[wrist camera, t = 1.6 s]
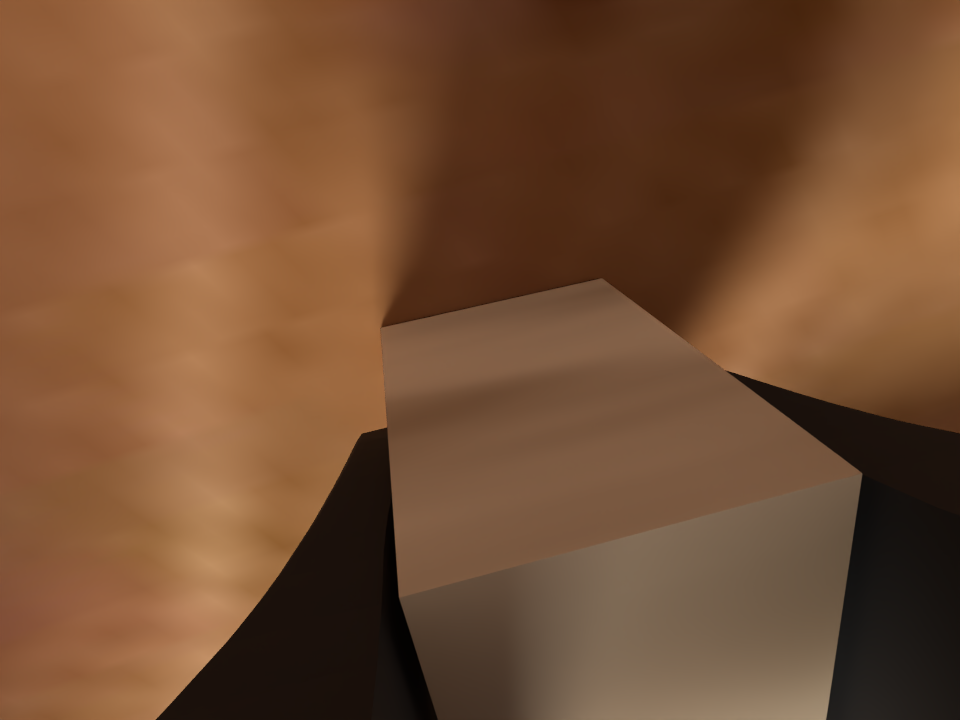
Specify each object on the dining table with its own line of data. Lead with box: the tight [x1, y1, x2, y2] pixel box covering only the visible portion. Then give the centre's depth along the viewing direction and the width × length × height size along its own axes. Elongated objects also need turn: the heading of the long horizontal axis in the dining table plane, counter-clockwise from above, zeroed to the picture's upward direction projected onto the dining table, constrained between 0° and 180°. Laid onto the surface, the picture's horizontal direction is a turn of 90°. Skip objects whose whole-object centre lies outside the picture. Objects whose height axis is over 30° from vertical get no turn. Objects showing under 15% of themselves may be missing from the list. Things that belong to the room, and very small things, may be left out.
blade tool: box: [380, 278, 862, 720], centre depth 10 cm, size 14×4×6 cm, turn 10°
